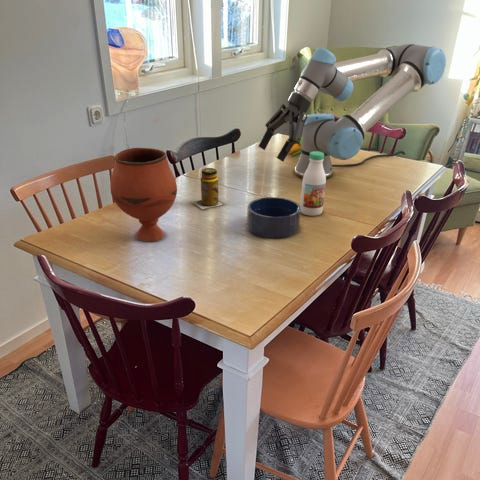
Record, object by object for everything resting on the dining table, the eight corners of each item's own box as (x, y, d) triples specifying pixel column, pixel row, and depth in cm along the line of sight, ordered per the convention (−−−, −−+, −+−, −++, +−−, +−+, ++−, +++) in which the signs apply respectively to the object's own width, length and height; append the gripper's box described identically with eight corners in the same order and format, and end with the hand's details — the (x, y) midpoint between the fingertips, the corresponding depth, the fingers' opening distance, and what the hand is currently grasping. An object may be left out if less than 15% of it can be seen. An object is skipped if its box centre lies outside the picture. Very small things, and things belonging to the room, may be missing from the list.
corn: (311, 132, 221) (292, 142, 207) (311, 149, 225) (291, 159, 211) (297, 131, 225) (277, 140, 211) (297, 147, 229) (277, 158, 215)
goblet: (126, 222, 156) (114, 144, 142) (184, 223, 156) (179, 145, 141) (111, 249, 141) (97, 164, 126) (176, 250, 140) (169, 165, 126)
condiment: (223, 204, 169) (222, 171, 162) (202, 209, 165) (201, 175, 158) (212, 198, 174) (211, 165, 167) (192, 203, 170) (190, 169, 163)
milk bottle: (295, 212, 164) (300, 153, 153) (308, 205, 169) (314, 148, 157) (313, 218, 160) (320, 158, 148) (326, 211, 165) (333, 152, 153)
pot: (283, 214, 163) (284, 194, 159) (308, 233, 150) (310, 212, 146) (239, 222, 157) (239, 201, 153) (261, 242, 145) (262, 221, 141)
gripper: (276, 83, 169) (246, 139, 175) (315, 99, 151) (280, 160, 158) (291, 94, 173) (261, 148, 180) (330, 110, 156) (295, 169, 162)
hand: (270, 154), depth 169 cm, fingers open, 13 cm apart
